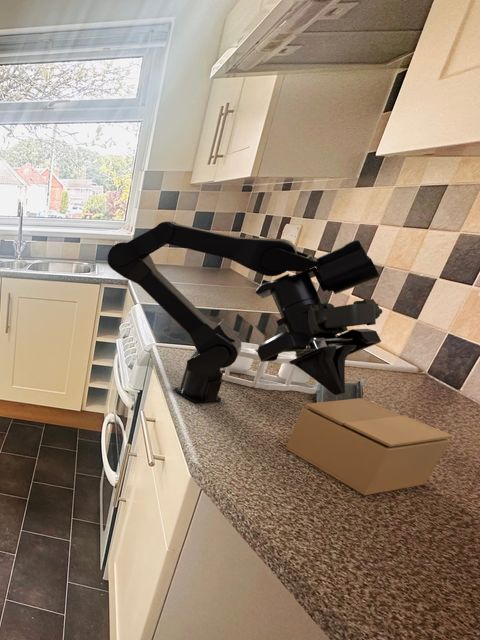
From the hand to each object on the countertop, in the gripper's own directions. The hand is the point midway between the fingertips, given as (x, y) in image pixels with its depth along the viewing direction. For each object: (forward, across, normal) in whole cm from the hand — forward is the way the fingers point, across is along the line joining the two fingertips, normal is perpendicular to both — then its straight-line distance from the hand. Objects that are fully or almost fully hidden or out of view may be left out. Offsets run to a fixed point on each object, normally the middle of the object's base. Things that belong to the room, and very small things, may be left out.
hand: (339, 394), depth 65 cm
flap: (+3, 0, 0) cm, 3 cm away
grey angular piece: (-2, +21, +16) cm, 27 cm away
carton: (+11, 0, +3) cm, 11 cm away
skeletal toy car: (-10, +15, +25) cm, 31 cm away
